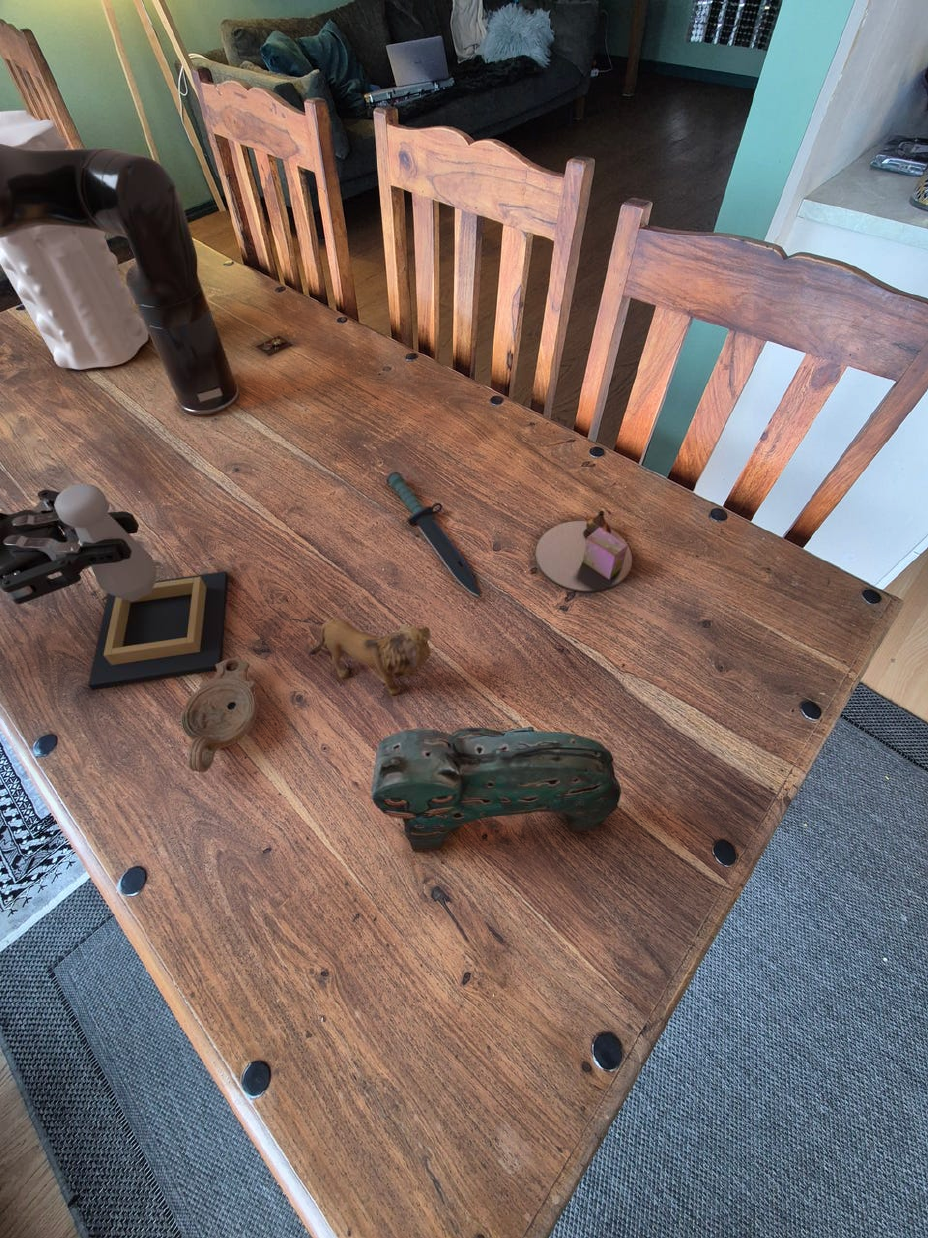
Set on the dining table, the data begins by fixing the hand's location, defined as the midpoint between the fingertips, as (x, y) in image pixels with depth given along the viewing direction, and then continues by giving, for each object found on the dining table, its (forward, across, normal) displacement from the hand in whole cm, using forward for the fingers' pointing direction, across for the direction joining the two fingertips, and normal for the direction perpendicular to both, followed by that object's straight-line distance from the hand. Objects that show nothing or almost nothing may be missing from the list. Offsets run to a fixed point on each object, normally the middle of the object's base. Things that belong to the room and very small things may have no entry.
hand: (130, 535), depth 62 cm
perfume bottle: (+48, +5, +15) cm, 51 cm away
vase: (-24, +65, +16) cm, 71 cm away
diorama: (+6, +61, +15) cm, 63 cm away
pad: (-3, 0, +15) cm, 16 cm away
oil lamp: (+6, -14, +15) cm, 21 cm away
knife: (+30, +11, +15) cm, 36 cm away
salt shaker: (-3, 0, +8) cm, 8 cm away
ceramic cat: (+33, -27, +15) cm, 45 cm away
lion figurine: (+22, -9, +15) cm, 28 cm away
